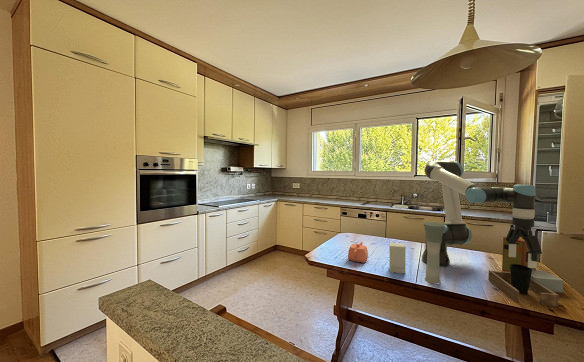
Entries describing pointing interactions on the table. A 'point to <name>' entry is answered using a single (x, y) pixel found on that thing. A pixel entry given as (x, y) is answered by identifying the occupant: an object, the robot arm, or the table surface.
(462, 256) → the table surface
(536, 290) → the walnut frame
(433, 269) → the container
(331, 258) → the table surface
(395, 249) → the skincare box
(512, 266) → the cup
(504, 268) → the box
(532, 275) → the slate plinth
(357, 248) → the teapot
